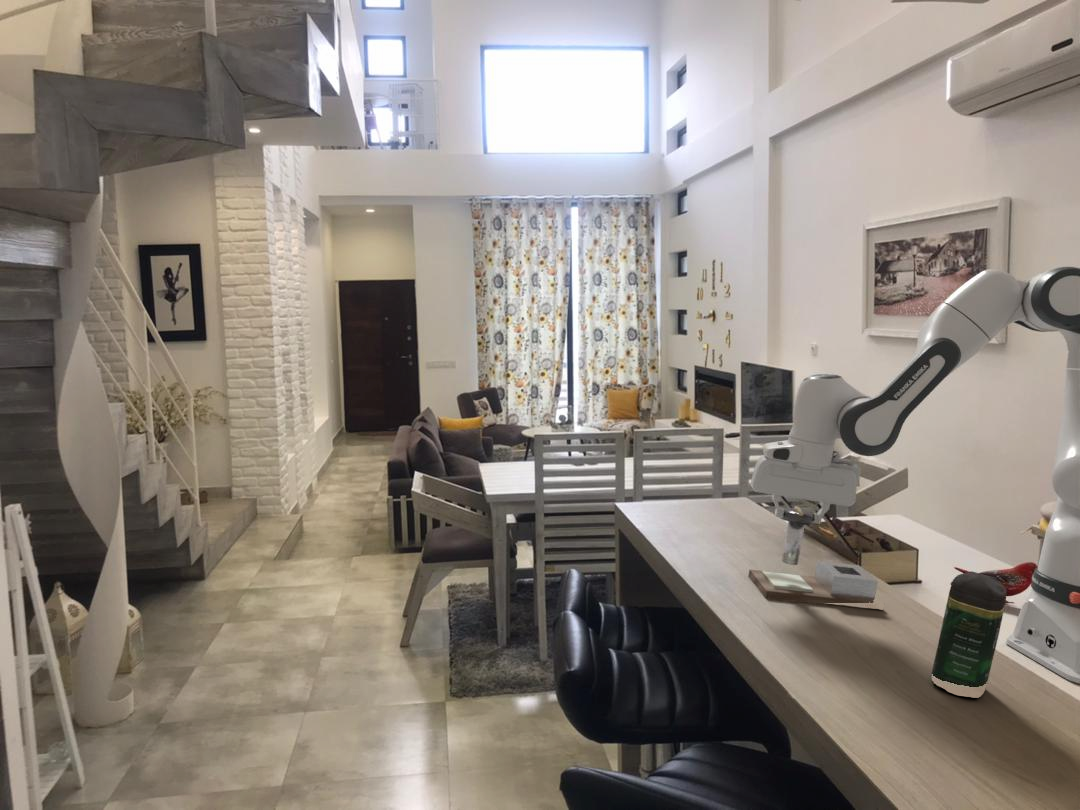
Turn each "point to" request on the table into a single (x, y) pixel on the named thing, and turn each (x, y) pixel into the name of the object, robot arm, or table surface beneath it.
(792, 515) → the peg
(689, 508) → the table surface
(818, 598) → the walnut board
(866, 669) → the table surface
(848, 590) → the grey socket block
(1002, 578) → the decorative bird figurine
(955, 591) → the coffee jar
